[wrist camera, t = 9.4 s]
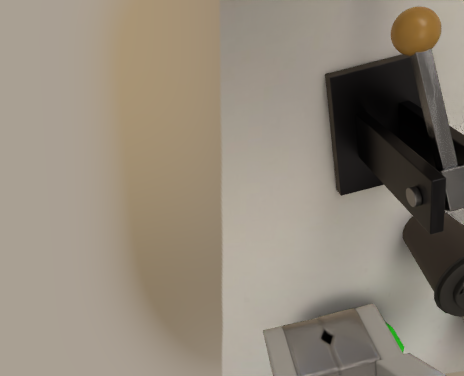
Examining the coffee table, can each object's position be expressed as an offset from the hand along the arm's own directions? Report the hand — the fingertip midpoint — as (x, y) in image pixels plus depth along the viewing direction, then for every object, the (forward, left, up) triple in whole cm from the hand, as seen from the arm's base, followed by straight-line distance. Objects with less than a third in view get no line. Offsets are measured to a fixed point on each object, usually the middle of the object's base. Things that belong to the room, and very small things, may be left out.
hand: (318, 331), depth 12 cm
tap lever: (+5, +14, -20) cm, 25 cm away
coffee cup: (+23, +19, -29) cm, 41 cm away
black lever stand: (+9, +14, -28) cm, 33 cm away
